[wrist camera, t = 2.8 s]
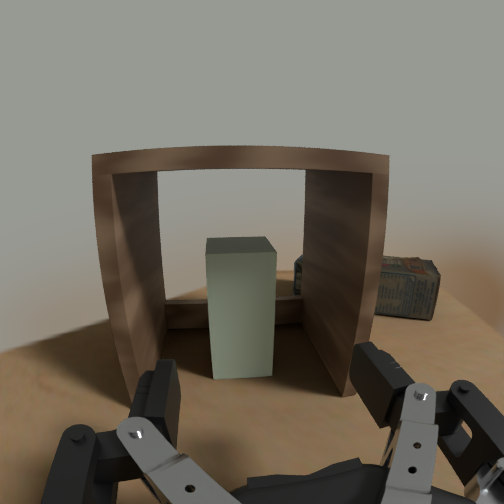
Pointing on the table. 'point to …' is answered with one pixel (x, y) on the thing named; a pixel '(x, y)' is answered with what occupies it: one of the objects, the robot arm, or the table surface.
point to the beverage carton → (399, 287)
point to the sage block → (241, 305)
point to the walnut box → (286, 307)
